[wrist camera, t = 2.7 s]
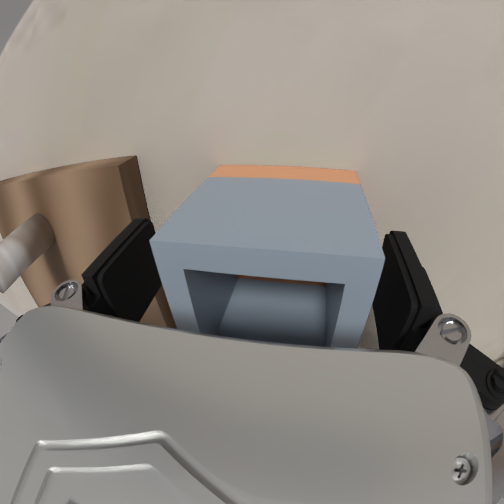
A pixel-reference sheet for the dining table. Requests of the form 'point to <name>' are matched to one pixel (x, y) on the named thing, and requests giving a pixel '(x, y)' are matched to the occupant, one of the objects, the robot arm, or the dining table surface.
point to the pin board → (69, 225)
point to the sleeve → (272, 256)
